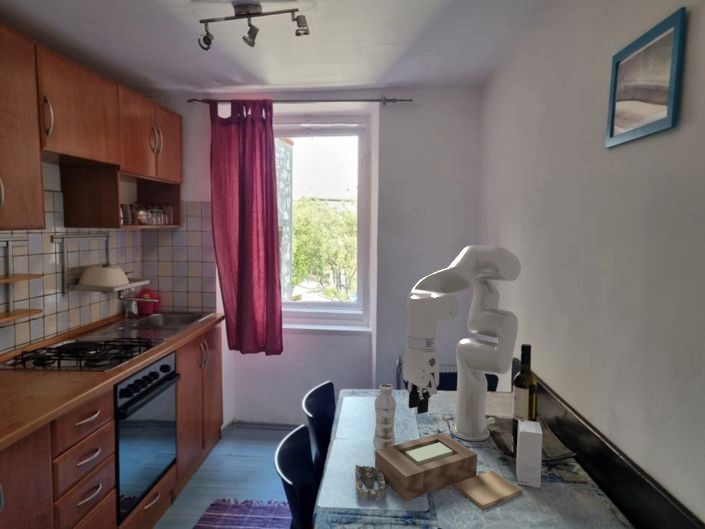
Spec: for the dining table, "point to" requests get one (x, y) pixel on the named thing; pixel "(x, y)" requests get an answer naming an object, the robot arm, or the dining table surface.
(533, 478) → the skincare box
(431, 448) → the slab
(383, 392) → the plastic bottle
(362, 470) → the egg carton
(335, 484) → the dining table surface
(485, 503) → the plate
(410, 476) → the pocket board
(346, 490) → the dining table surface
